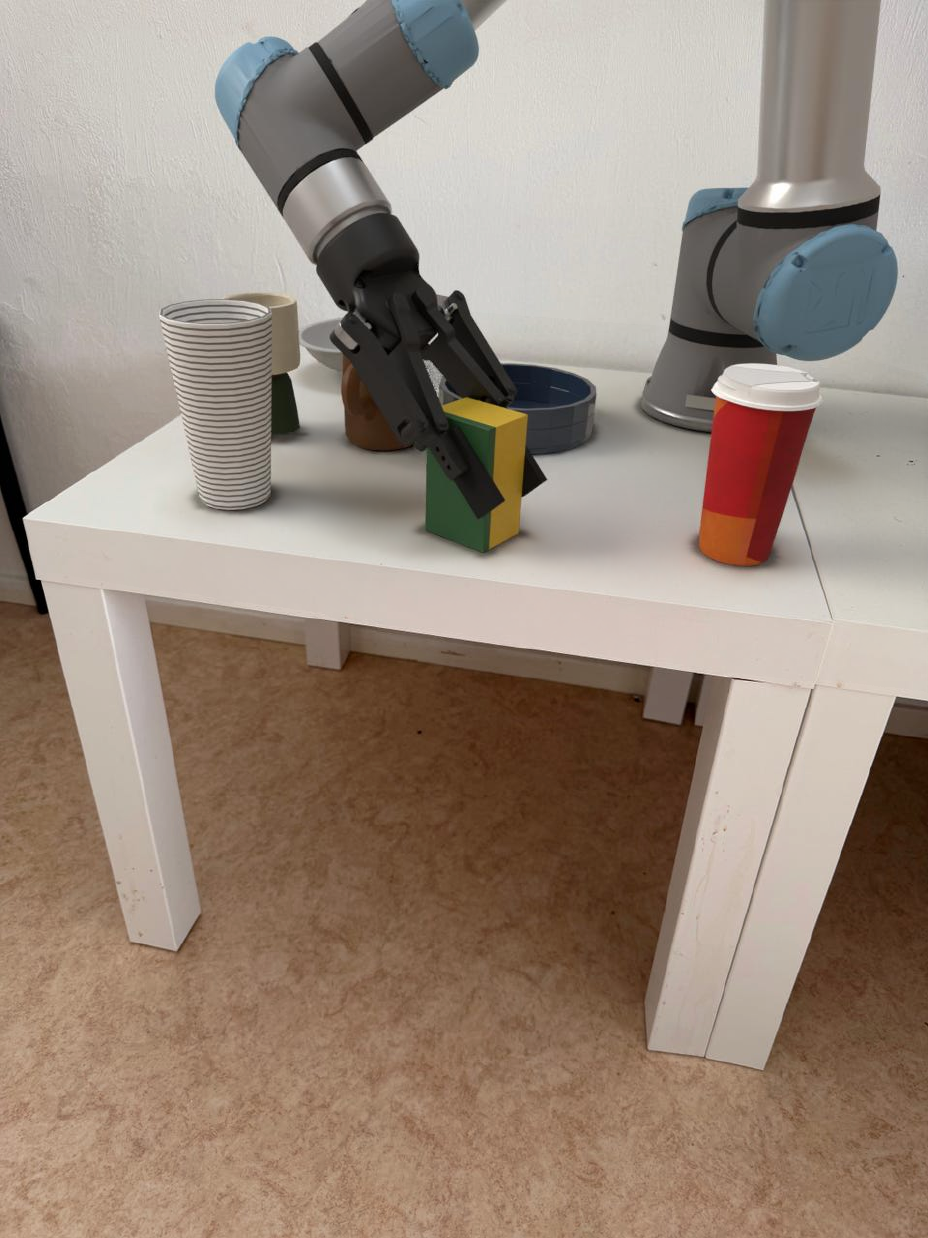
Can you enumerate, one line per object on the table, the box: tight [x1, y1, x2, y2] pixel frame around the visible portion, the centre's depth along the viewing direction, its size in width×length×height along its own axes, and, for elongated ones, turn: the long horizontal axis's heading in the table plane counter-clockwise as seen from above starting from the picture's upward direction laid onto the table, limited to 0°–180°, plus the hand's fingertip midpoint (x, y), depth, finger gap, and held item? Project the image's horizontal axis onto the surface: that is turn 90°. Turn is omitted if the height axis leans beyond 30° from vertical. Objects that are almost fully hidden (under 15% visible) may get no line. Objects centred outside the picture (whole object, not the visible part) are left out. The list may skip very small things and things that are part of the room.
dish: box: [299, 317, 343, 373], centre depth 107 cm, size 18×14×5 cm
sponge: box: [424, 397, 528, 554], centre depth 70 cm, size 5×6×10 cm
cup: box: [158, 298, 272, 511], centre depth 72 cm, size 8×8×16 cm
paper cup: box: [698, 363, 823, 567], centre depth 67 cm, size 8×8×14 cm
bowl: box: [438, 362, 598, 455], centre depth 93 cm, size 16×16×4 cm
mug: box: [340, 354, 415, 452], centre depth 86 cm, size 12×8×9 cm, turn 162°
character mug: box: [221, 292, 301, 436], centre depth 87 cm, size 11×7×13 cm, turn 167°
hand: (512, 498), depth 68 cm, fingers closed on sponge, 5 cm apart
